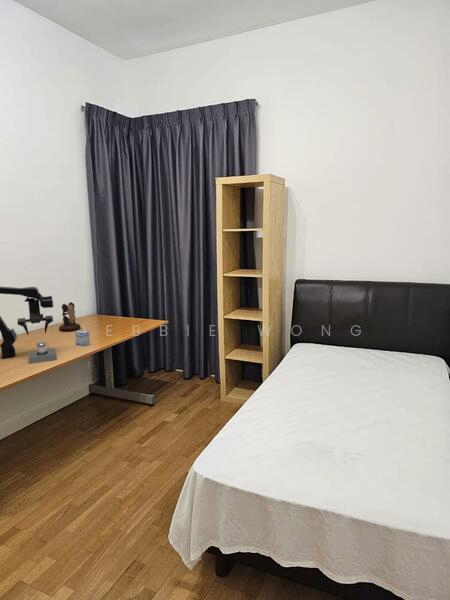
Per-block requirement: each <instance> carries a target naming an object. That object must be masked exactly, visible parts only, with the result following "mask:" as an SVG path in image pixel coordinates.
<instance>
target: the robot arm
mask: <svg viewBox="0 0 450 600" xmlns="http://www.w3.org/2000/svg"><path fill="white" fill-rule="evenodd" d="M0 294H1V295H12V296H13V295H17V296H23V297H26V298H25V299H24V302H25V303H26V302H28V304H27V305H28V313H29V318H26V317H22V318H21V317H20V318H18V319H17V325H18V326H20V327H23V329H24V330H25V333H26V335H27V336H29V330H28V325H27V323H31V324H32V325H33V324H40V323H41V322H44V334H46V333H47V330H48V326H49V324H51V323H52V322H54V318H53V316H52V315H45V317H44V314H43V313H41V308H42V309H47V308H48V309H49V308H54V300H53V296H52V295H49V296H43V294H41V293H40V291H39V289H38V288H37V287H36V286H28V287H13V286H12V287H10V286H0ZM7 325H8V324H6V323H5V321H4V319H3V318H2V316H1V315H0V334H1V337H2V340H3V341H2V342H1V343H0V349H1V359H8V358H9V359H10V358H14V357H15V356H16V347H15V345H14V343H15V342H16V340H17V338H18V337H17V334H18V333H16V332H15V329H14V328H9V326H7Z"/></svg>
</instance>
